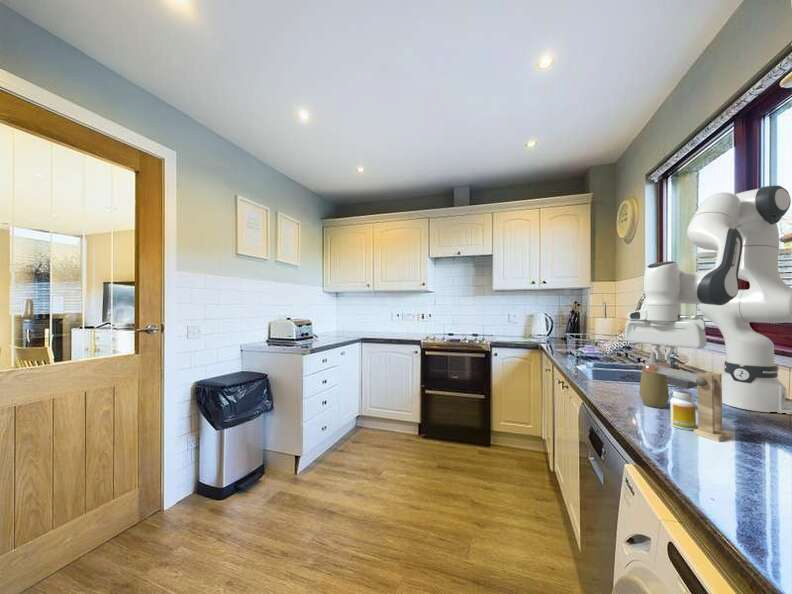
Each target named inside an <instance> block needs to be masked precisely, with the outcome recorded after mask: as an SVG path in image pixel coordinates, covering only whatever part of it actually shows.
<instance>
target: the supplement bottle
mask: <svg viewBox="0 0 792 594" xmlns="http://www.w3.org/2000/svg"><path fill="white" fill-rule="evenodd" d="M672 396H673V397H671V399H670V400H669V404H670V405H669V410H670V411H669V412H670V413H669V414H670V418H669V419H670V425H671V427H674V428H677V429H680V430H685V431H694V430H695V429H697V425H696V424H697V419H696V418H697V417H696V403H695V402H694V401H693V400H692V399H693V393H691V392H689V391H684V390H673V391H672Z"/></svg>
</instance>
